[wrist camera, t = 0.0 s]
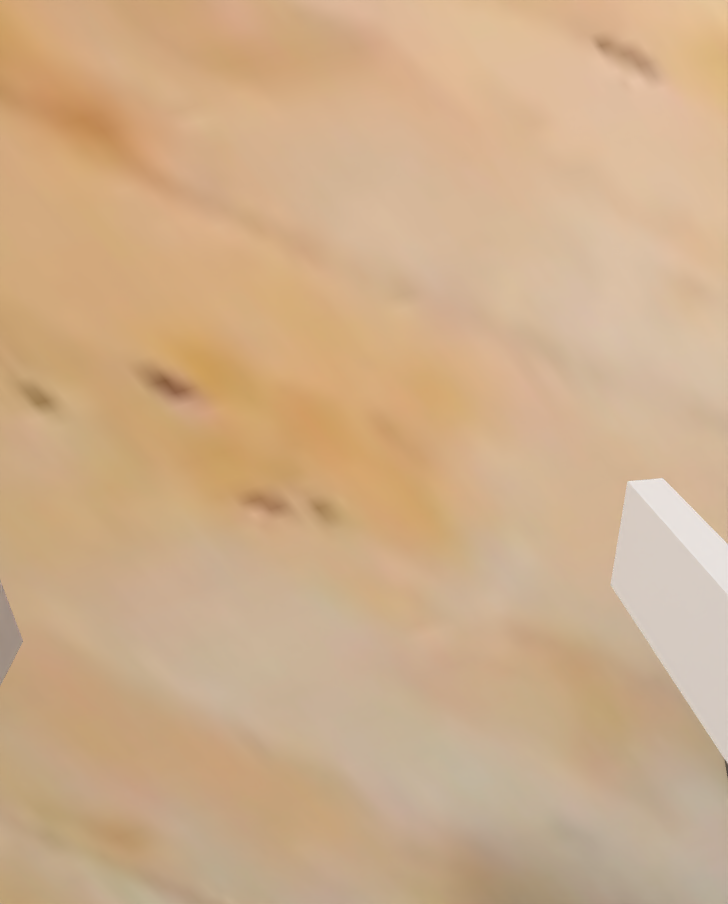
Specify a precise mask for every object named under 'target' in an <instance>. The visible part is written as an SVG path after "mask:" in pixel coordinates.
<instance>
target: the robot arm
mask: <svg viewBox="0 0 728 904" xmlns="http://www.w3.org/2000/svg"><path fill="white" fill-rule="evenodd" d="M611 587H612V588H613V590H614V591H615V593H616V594H617V596H618V597H619V599H620V600H621V602H622V603H623V605H624V606H625V608H626V609H627V611H628V612H629V614H630V616H631V617H632V619H633V620H634V622H635V623H636V625H637V626H638V628H639V629H640V631H641V632H642V634H643V635H644V637H645V638H646V640H647V641H648V643H649V644H650V646H651V648H652V649H653V651H654V652H655V654H656V655H657V657H658V658H659V660H660V661H661V663H662V664H663V666H664V667H665V669H666V670H667V672H668V673H669V675H670V676H671V678H672V680H673V681H674V683H675V684H676V686H677V687H678V689H679V690H680V692H681V693H682V695H683V696H684V698H685V699H686V701H687V702H688V704H689V705H690V707H691V708H692V710H693V712H694V713H695V715H696V716H697V718H698V719H699V721H700V722H701V724H702V725H703V727H704V728H705V730H706V731H707V733H708V734H709V736H710V737H711V739H712V741H713V742H714V744H715V745H716V747H717V748H718V750H719V751H720V753H721V754H722V756H723V757H724V759H725V760H726V762H727V763H728V544H727V543H726V542H725V541H724V540H723V539H722V538H721V537H720V536H719V535H718V534H717V533H716V532H715V531H714V530H713V529H712V528H711V527H710V526H709V525H708V524H707V523H706V522H705V521H704V520H703V519H702V518H701V516H700V515H699V514H698V513H697V512H696V511H695V510H694V509H693V508H692V507H691V506H690V505H689V504H688V503H687V502H686V501H685V500H684V499H683V498H682V497H681V496H680V495H679V494H678V493H677V492H676V491H675V490H674V489H673V488H672V487H671V486H670V485H669V484H668V483H667V482H666V481H665V480H664V479H663V478H660V479H648V480H636V481H628V482H627V488H626V494H625V500H624V506H623V512H622V518H621V524H620V530H619V537H618V543H617V549H616V555H615V561H614V567H613V573H612V579H611ZM22 642H23V640H22V637H21V634H20V632H19V629H18V626H17V624H16V621H15V618H14V616H13V613H12V610H11V608H10V605H9V602H8V600H7V597H6V594H5V592H4V589H3V586H2V584H1V581H0V685H1V683H2V681H3V679H4V678H5V676H6V674H7V672H8V670H9V668H10V666H11V664H12V662H13V660H14V658H15V656H16V654H17V652H18V650H19V648H20V646H21V644H22Z"/></svg>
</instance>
